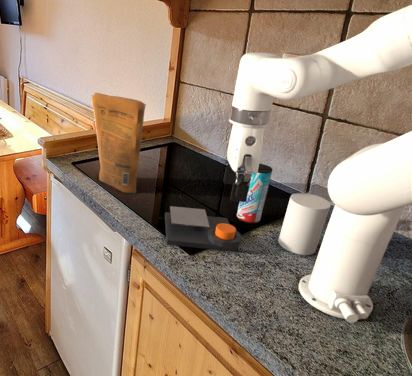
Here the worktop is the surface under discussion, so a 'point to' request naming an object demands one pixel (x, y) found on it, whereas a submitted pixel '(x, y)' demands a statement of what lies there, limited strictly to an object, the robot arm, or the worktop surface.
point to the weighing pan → (189, 217)
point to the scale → (200, 235)
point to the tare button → (225, 231)
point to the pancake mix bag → (118, 139)
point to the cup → (303, 223)
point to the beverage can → (255, 196)
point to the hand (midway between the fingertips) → (233, 191)
